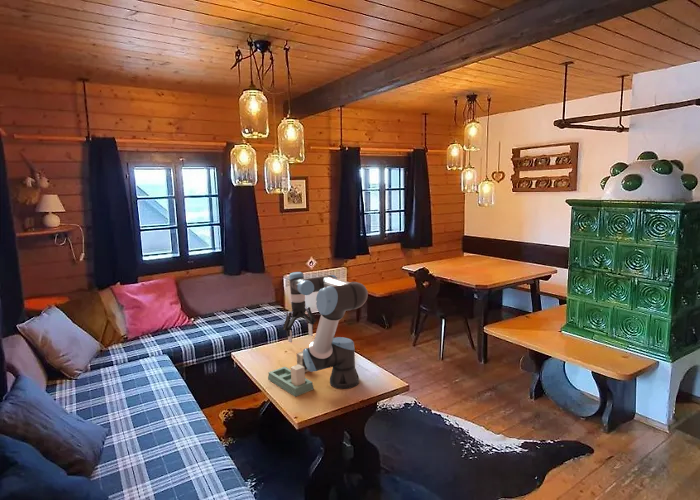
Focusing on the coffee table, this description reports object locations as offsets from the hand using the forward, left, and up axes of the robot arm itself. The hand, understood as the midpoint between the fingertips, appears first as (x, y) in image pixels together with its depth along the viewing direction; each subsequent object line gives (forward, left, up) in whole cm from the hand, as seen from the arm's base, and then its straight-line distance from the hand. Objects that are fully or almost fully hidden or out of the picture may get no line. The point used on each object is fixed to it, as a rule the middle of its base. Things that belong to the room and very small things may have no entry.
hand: (300, 338), depth 238 cm
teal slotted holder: (-9, +14, -19) cm, 25 cm away
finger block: (0, 0, -19) cm, 19 cm away
